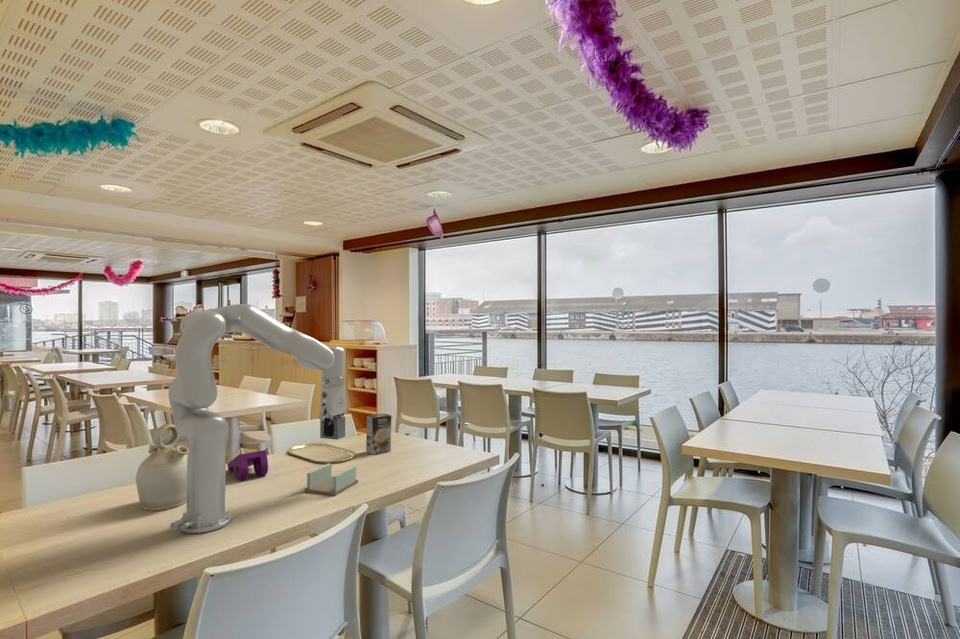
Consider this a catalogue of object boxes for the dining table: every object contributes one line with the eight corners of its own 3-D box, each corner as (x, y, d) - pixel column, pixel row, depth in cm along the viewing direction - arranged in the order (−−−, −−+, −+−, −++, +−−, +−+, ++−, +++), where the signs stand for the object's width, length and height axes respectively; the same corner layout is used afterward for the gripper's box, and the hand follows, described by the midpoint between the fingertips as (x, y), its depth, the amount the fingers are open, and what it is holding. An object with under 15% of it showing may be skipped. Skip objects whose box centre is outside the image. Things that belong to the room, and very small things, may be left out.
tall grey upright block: (337, 439, 165) (337, 419, 165) (320, 437, 167) (320, 417, 167) (345, 436, 169) (345, 416, 169) (328, 435, 171) (328, 415, 171)
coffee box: (372, 455, 209) (372, 417, 209) (365, 451, 214) (366, 415, 214) (391, 451, 215) (391, 415, 215) (384, 448, 220) (384, 413, 220)
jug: (203, 501, 154) (204, 422, 154) (148, 517, 141) (149, 431, 141) (180, 491, 162) (181, 417, 162) (126, 505, 150) (127, 424, 150)
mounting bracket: (227, 488, 182) (242, 478, 171) (224, 466, 185) (238, 454, 174) (253, 483, 189) (269, 472, 178) (249, 461, 192) (265, 449, 180)
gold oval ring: (326, 468, 191) (327, 464, 191) (279, 452, 212) (279, 449, 212) (364, 457, 206) (364, 454, 206) (317, 444, 227) (317, 441, 227)
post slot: (334, 495, 159) (335, 477, 159) (304, 491, 163) (304, 473, 163) (358, 482, 173) (358, 465, 173) (329, 479, 176) (329, 462, 176)
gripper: (327, 385, 159) (327, 441, 159) (355, 379, 175) (355, 430, 175) (308, 384, 161) (307, 439, 161) (338, 378, 177) (337, 428, 177)
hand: (332, 433), depth 168 cm, fingers closed on tall grey upright block, 4 cm apart
